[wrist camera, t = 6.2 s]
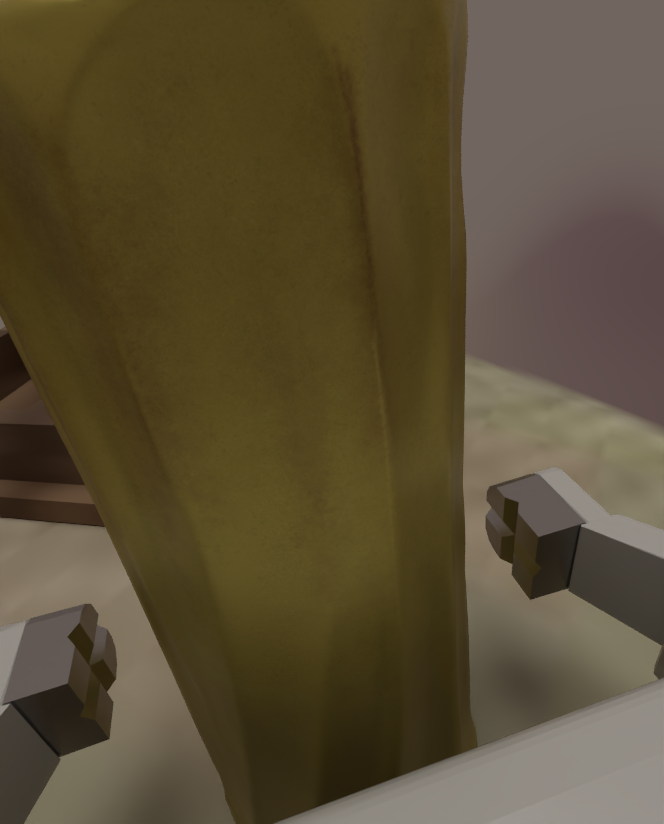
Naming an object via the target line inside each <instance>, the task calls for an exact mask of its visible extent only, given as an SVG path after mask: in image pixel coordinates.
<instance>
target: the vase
mask: <svg viewBox="0 0 664 824" xmlns="http://www.w3.org/2000/svg"><path fill="white" fill-rule="evenodd" d="M467 43H468V14H467V1H466V0H0V316H1V318H2V320H3V322H4V324H5V326H6V328H7V330H8V333H9V335H10V337H11V339H12V341H13V343H14V345H15V347H16V349H17V351H18V353H19V355H20V357H21V359H22V361H23V363H24V365H25V367H26V369H27V371H28V373H29V375H30V377H31V379H32V381H33V383H34V385H35V387H36V389H37V391H38V393H39V395H40V397H41V399H42V401H43V403H44V405H45V407H46V409H47V411H48V413H49V415H50V417H51V419H52V421H53V423H54V425H55V427H56V429H57V431H58V433H59V435H60V437H61V439H62V441H63V443H64V445H65V446H66V448H67V450H68V452H69V454H70V456H71V458H72V460H73V462H74V464H75V466H76V468H77V469H78V471H79V473H80V475H81V477H82V479H83V481H84V484H85V486H86V488H87V490H88V492H89V494H90V496H91V498H92V500H93V502H94V504H95V506H96V508H97V511H98V513H99V515H100V517H101V519H102V521H103V523H104V525H105V527H106V529H107V532H108V534H109V536H110V538H111V540H112V542H113V544H114V546H115V549H116V551H117V553H118V555H119V557H120V559H121V561H122V563H123V566H124V568H125V570H126V572H127V574H128V576H129V579H130V581H131V583H132V585H133V587H134V590H135V592H136V594H137V596H138V598H139V601H140V603H141V605H142V607H143V609H144V612H145V614H146V616H147V618H148V620H149V623H150V625H151V627H152V629H153V631H154V634H155V636H156V638H157V640H158V642H159V645H160V647H161V649H162V651H163V653H164V656H165V658H166V660H167V662H168V664H169V667H170V669H171V671H172V673H173V675H174V678H175V680H176V682H177V684H178V687H179V689H180V691H181V693H182V696H183V698H184V700H185V703H186V705H187V707H188V709H189V712H190V714H191V716H192V718H193V721H194V723H195V725H196V727H197V729H198V731H199V734H200V736H201V738H202V740H203V742H204V744H205V746H206V748H207V751H208V753H209V755H210V757H211V759H212V761H213V763H214V765H215V767H216V769H217V771H218V773H219V775H220V778H221V780H222V783H223V787H224V791H225V797H226V801H227V803H228V806H229V808H230V810H231V813H232V816H233V818H234V821H235V823H236V824H273V823H276V822H278V821H281V820H284V819H286V818H289V817H292V816H294V815H297V814H300V813H302V812H305V811H308V810H311V809H313V808H316V807H319V806H321V805H324V804H327V803H329V802H332V801H335V800H337V799H340V798H343V797H345V796H348V795H351V794H353V793H356V792H359V791H361V790H364V789H367V788H369V787H372V786H375V785H377V784H380V783H383V782H386V781H388V780H391V779H394V778H396V777H399V776H402V775H404V774H407V773H410V772H412V771H415V770H418V769H420V768H423V767H426V766H428V765H431V764H434V763H436V762H439V761H442V760H444V759H447V758H450V757H453V756H455V755H458V754H461V753H463V752H466V751H469V750H471V749H474V748H477V737H476V729H475V726H474V722H473V719H472V716H471V710H470V670H469V635H468V614H467V595H466V580H465V516H464V497H463V455H464V400H465V314H466V230H465V219H464V207H463V195H462V194H463V193H462V177H461V130H462V107H463V94H464V83H465V71H466V56H467Z"/></svg>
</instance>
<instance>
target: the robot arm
mask: <svg viewBox="0 0 664 824" xmlns="http://www.w3.org/2000/svg"><path fill="white" fill-rule="evenodd" d="M487 502H488V503H489V504H490V506H491V507H492V508H491V509H490V511H489V512H488V513H487V515H486V531H487V535H488V538H489V541H490V543H491V545H492V547H493V549H494V550H495V552H496V553H497V555H498V556H499V558H500V559H503V560H505V561H507V562H509V563H511V564H513V565H512V576H513V577H514V578H515V580H516V581H517V583H518V584H519V585H520V587H521V588H522V589H523V591H524V592H525V593H526V595H527V596H528V598H529V599H530V600H531V599H535V598H538V597H541V596H545V595H548V594H551V593H555V592H558V591H561V590H565V589H568V588H569V589H568V591H570V592H571V593H573V594H575V595H577V596H578V597H580V598H582V599H583V600H585V601H587V602H588V603H590V604H592V605H594V606H595V607H597V608H599V609H600V610H602V611H604V612H606V613H607V614H609V615H611V616H612V617H614V618H616V619H617V620H619V621H621V622H623V623H624V624H626V625H628V626H629V627H631V628H633V629H634V630H636V631H638V632H640V633H641V634H643V635H645V636H646V637H648V638H650V639H651V640H653V641H655V642H657V643H658V644H660V645H662V648H661V650H660V653H659V656H658V658H657V661H656V664H655V668H654V674H655V675H656V677H657V678H658V679H659V680H656V681H654V682H651V683H648V684H646V685H643V686H640V687H637V688H635V689H632V690H629V691H627V692H624V693H621V694H619V695H616V696H613V697H611V698H608V699H605V700H603V701H600V702H597V703H595V704H592V705H589V706H587V707H584V708H581V709H579V710H576V711H573V712H570V713H568V714H565V715H562V716H560V717H557V718H554V719H552V720H549V721H546V722H544V723H541V724H538V725H536V726H533V727H530V728H528V729H525V730H522V731H520V732H517V733H514V734H512V735H509V736H506V737H503V738H501V739H498V740H495V741H493V742H490V743H487V744H485V745H482V746H479V747H477V748H474V749H471V750H469V751H466V752H463V753H461V754H458V755H455V756H453V757H450V758H447V759H444V760H442V761H439V762H436V763H434V764H431V765H428V766H426V767H423V768H420V769H418V770H415V771H412V772H410V773H407V774H404V775H402V776H399V777H396V778H394V779H391V780H388V781H386V782H383V783H380V784H377V785H375V786H372V787H369V788H367V789H364V790H361V791H359V792H356V793H353V794H351V795H348V796H345V797H343V798H340V799H337V800H335V801H332V802H329V803H327V804H324V805H321V806H319V807H316V808H313V809H311V810H308V811H305V812H302V813H300V814H297V815H294V816H292V817H289V818H286V819H284V820H281V821H278V822H276V823H273V824H664V530H661V529H659V528H656V527H653V526H650V525H647V524H645V523H642V522H639V521H636V520H633V519H631V518H628V517H625V516H622V515H619V514H615V515H612V516H611V515H610V514H609V513H608V512H607V511H606V510H604V509H603V508H602V507H601V506H600V505H599V504H598V503H597V502H596V501H595V500H594V499H593V498H591V497H590V496H589V495H588V494H587V493H586V492H585V491H584V490H583V489H582V488H581V487H580V486H578V485H577V484H576V483H575V482H574V481H573V480H572V479H571V478H570V477H569V476H568V475H567V474H566V473H564V472H563V471H562V470H561V469H559V468H557V467H552V468H549V469H546V470H542V471H539V472H536V473H533V474H529V475H525V476H522V477H519V478H515V479H512V480H509V481H505V482H502V483H499V484H495V485H492V486H490V487H489V489H488V491H487ZM97 621H98V613H97V612H96V610H95V609H94V607H93V606H92V604H83V605H79V606H76V607H72V608H68V609H64V610H61V611H57V612H53V613H49V614H45V615H42V616H38V617H34V618H31V619H28V620H25V621H21V622H17V623H13V624H10V625H6V626H2V627H1V628H0V824H24V822H25V820H26V819H27V817H28V815H29V814H30V812H31V810H32V808H33V807H34V805H35V803H36V802H37V800H38V798H39V796H40V795H41V793H42V791H43V789H44V788H45V786H46V784H47V783H48V781H49V779H50V777H51V776H52V774H53V772H54V770H55V769H56V767H57V765H58V764H59V762H60V758H59V757H61V756H64V755H67V754H70V753H72V752H75V751H78V750H81V749H84V748H86V747H89V746H92V745H95V744H97V743H100V742H103V741H106V740H108V739H109V738H110V729H111V720H112V711H113V701H112V699H111V698H110V696H109V695H108V693H107V691H108V690H109V688H110V687H111V685H112V684H113V682H114V681H115V679H116V671H117V658H116V648H115V645H114V642H113V639H112V636H111V635H110V633H109V631H108V630H107V629H106V628H103V627H100V626H98V625H97Z"/></svg>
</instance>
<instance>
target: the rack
mask: <svg viewBox="0 0 664 824" xmlns="http://www.w3.org/2000/svg"><path fill="white" fill-rule="evenodd" d="M0 517H9V518H20V519H31V520H42V521H53V522H64V523H75V524H86V525H98V526H105V525H104V523H103V521H102V519H101V517H100V515H99V513H98V511H97V508H96V506H95V504H94V502H93V500H92V498H91V496H90V494H89V492H88V490H87V488H86V486H85V484H84V481H83V479H82V477H81V475H80V473H79V471H78V469H77V468H76V466H75V464H74V462H73V460H72V458H71V456H70V454H69V452H68V450H67V448H66V446H65V445H64V443H63V441H62V439H61V437H60V435H59V433H58V431H57V429H56V427H55V425H54V423H53V421H52V419H51V417H50V415H49V413H48V411H47V409H46V407H45V405H44V403H43V401H42V399H41V397H40V395H39V393H38V391H37V389H36V387H35V385H34V383H33V381H32V379H31V377H30V375H29V373H28V371H27V369H26V367H25V365H24V363H23V361H22V359H21V357H20V355H19V353H18V351H17V349H16V347H15V345H14V343H13V341H12V339H11V337H10V335H9V333H8V330H7V328H6V327H4V328H3V329H1V330H0Z"/></svg>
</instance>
